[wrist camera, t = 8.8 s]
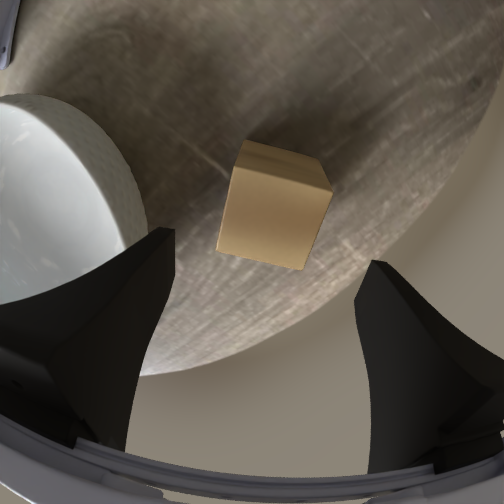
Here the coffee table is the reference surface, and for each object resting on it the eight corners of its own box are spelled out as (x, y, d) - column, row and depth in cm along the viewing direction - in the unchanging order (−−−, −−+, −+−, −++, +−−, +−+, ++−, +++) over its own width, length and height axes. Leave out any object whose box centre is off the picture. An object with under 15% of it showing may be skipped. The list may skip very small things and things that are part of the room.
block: (296, 223, 19) (302, 271, 15) (227, 206, 19) (214, 251, 15) (318, 158, 17) (334, 192, 13) (243, 138, 17) (233, 165, 12)
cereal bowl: (227, 196, 19) (205, 266, 13) (104, 316, 26) (74, 377, 20) (45, 36, 12) (-34, 43, 6) (-22, 201, 19) (-71, 242, 13)
